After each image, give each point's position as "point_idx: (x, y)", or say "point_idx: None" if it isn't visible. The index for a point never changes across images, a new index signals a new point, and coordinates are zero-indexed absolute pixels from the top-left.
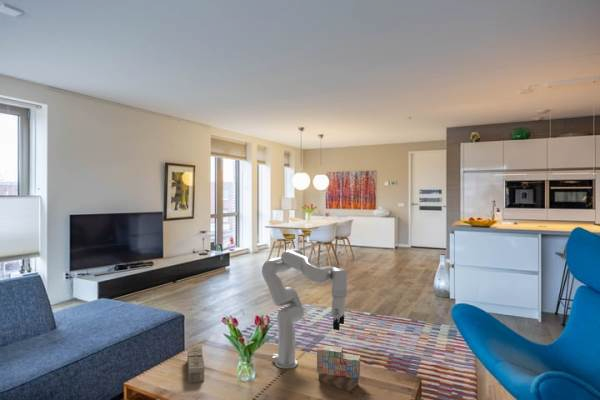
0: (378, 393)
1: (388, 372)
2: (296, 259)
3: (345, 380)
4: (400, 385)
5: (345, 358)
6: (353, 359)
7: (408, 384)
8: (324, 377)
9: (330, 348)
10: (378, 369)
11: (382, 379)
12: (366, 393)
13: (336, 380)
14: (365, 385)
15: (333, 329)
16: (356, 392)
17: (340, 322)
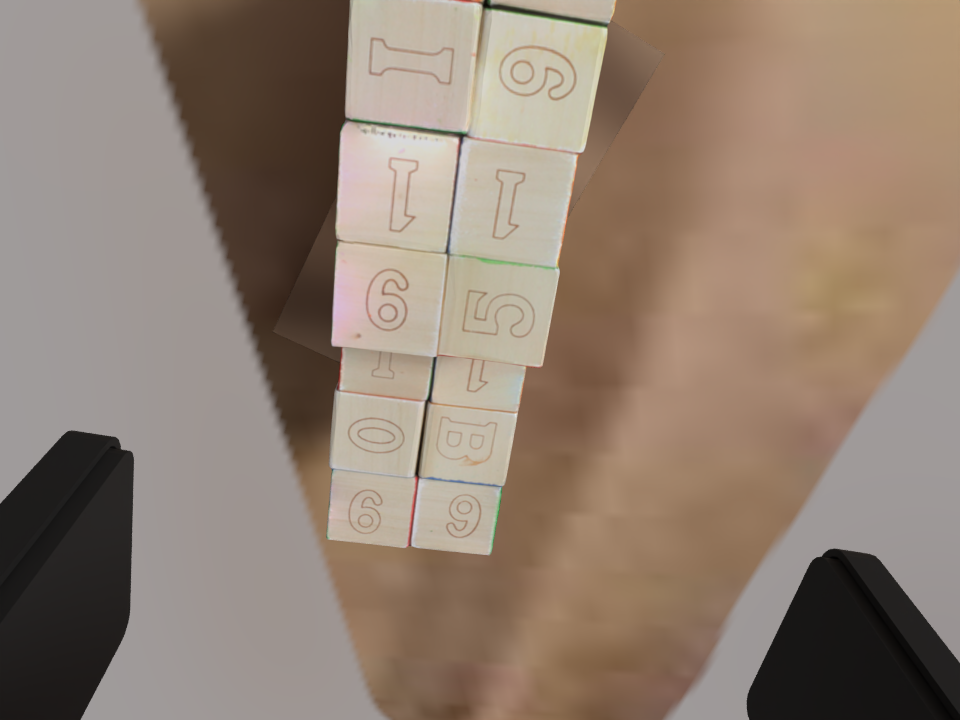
0: None
1: (708, 606)
2: None
3: (295, 290)
4: (496, 667)
5: (352, 376)
6: (345, 479)
7: (521, 713)
8: None
9: (457, 148)
10: (762, 539)
11: (575, 560)
12: (301, 439)
13: None
14: None
15: (79, 438)
16: (293, 359)
17: (803, 656)
